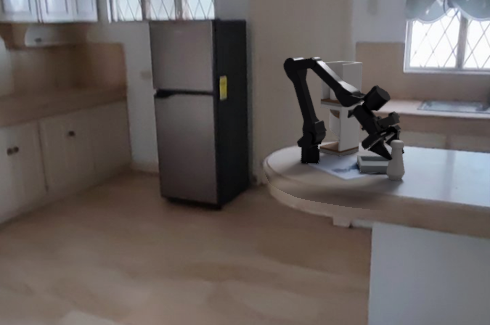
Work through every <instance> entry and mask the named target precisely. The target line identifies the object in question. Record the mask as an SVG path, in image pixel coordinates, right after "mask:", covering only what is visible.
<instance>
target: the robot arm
mask: <svg viewBox="0 0 490 325" xmlns="http://www.w3.org/2000/svg"><path fill="white" fill-rule="evenodd" d="M325 63H326V62H324V61H323V59H322V58H321V57H320V56H314V57H313V56H312V57H309V58H305V57H302V56H293V57H292V56H291V57H287V58H286V59H285V60H284V62H283V63H282V64H283V71H284V72H285V75H286V76H287V78H288V79H289V81H290V82H291V83H292V84H293V88H294V91H295V95H296V99H297V103H298V106H299V110H300V113H301V116H302V119H303V123H302V128H301V129H302V135H301V137H300V138H299V139H298V140H297V142H296V144H297V147H299V148H300V150H301V151H300V153H301V154H300V164H303V165H304V164H308V163H316V164H315V165H318V164H319V163H320V160H321V158H320V156H321V151H320V148H319V145H322V143H323V141H324V140H325V138H326V136H327V129H326V125H325V121H324V120H320V119H319V118H318V117H317V113H316V111H315V108H314V102H313V100H312V96H311V92H310V90H309V89H310V88H309V86H308V82H307V76H308V69H309V70H312V72H313V73H314V74H316V76H318V77H319V78H320V80H321V79H322V80H323V81H324V82H325V83H326V84H327V85H328V86H329V87H330V88H331V89H332V90H333V91H334V93H335V96H336V98H337V100H338V101H339V103H340V104H341V105H342V106H343V107H351V106H355V105H357V106H356V107H355V108H354V109H353V110H352V109H351V110H348V117H347V118H351V117H355V118H356V119H357V120H358V122H359V123H360V129H361V131H362V132H364V131H365V132H366V133H367V134H368V135H367V136H366V137H365V138H364V139H363V140H361V146H360V147H362V148H363V150H364V151H366V150H367V151H368V152H372V153H374V154H376V155H377V156H382V157H384V158H386V159H388V160H390V161H391V160H392V159H393V158H392V156H391V152H390V151H389V150H388V149H387V147H386V146H385V144H386V145H387V146H389V147H390V148H391V146H390V144H391V141H393V140H401V139H400V134H401V130H402V127H400V125H399V124H398V123H401V121H400V117H401V115H400V114H399V113H397V112H396V110H395V111H391V112H389V113H388V116H385V117H384V118H382V116H380V115H378V116H377V115H376V114H375V113H374V111H375V112H378V111H380V110H381V109H382V108H383V107H384V106H386V104H387V103H388V102H390V101H391V95H390V94H389V92H388V91H387V90H385V89H383V88H382V87H380V86H379V85H377V84H376V85H374V86H372V87H371V89H370V90H369V91H368V92H367V93H366V92H365V93H364V92H362V91H361V92H360V91H359V90H358V89H357V88H355V87H354V86H352V85H350V84H347V83H345V82H344V81H343V80H342V79H341V78H339V77H338V76H337V75H336V74H335V73H334V72H333V71H332V70H331V69H330V68H329V67H328V66H327V65H326V64H325ZM360 102H361V105H358V104H359V103H360ZM403 154H405V150H404V148H402V155H403ZM317 163H318V164H317Z"/></svg>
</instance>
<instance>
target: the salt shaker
mask: <svg viewBox="0 0 490 325" xmlns="http://www.w3.org/2000/svg"><path fill="white" fill-rule="evenodd" d="M390 146H391V147H390ZM390 146H389V147H390V148H391V152H390V155H391V156H392V158H393V159H392V160H391V161H390V160H389V163H388V167H387V173H386V174H387V178H388V179H389V180H391V181H402V178H403V177H404V175H405V174H406V170H405V164H404V157H403V154H402V148H403V149H404V148H405V142H404V141H403V140H401V139H400V140H393V141H391V144H390Z"/></svg>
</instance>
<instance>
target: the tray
mask: <svg viewBox="0 0 490 325" xmlns="http://www.w3.org/2000/svg"><path fill="white" fill-rule="evenodd" d="M356 162H357V166H358V165H359V166H358V168H360V169H359V170H360V171H361V172H360V171H359V172H360V173H367V172H380V174H383V173H384V174H387V167H388V163H389V160H388V159H386V158H384V157H382V156H380V155H356Z"/></svg>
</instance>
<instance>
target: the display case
mask: <svg viewBox="0 0 490 325" xmlns="http://www.w3.org/2000/svg"><path fill="white" fill-rule="evenodd" d="M324 63H325V64H326V65H327V66H328V67H329V68H330V69H331V70H332V71H333V72H334V73H335V74H336V75H337V76H338V77H339V78H341V79H342V80H343V81H344V82H345V83H347V84H350V85H352V86H354V87H355V88H357V89H358V90H359V91H360V92H361V93H362V84H363V67H364V65H363V63H364V62H361V61H348V60H347V61H346V60H339V61H337V60H336V61H328V62H324ZM361 104H362V102H360V103H359V104H358V105H361ZM356 106H357V105H355V106H351V107H343V106H342V105H341V104H340V103H339V101H338V100H337V98H336V96H335V93H334V91H333V90H332V89H331V88H330V87H329V86H328V85H327V84H326V83H325V82H324V81H323V80H322V79H321V78H320V108H322V109H328V110H329V119H328V121H329V122H328V128H329V130H330V132H331V133H332V134H334V135H335V136H337V137H338V141H336V142H335V141H334V142H330V143H327V144H323V145H322V144H321V145H320V146H319V149H320V153H326V154H330V155H332V156H333V155H334V156H337V157H342V156H346V155H349V154H350V155H351V154H353V153H357V152H359V151H360V150H359V148H360V131H361V130H360V129H361V124H360V123H359V122H358V120H357V119H356V118H355V117H351V118H347V117H348V110H351V109H352V110H353V109H354V108H355V107H356Z"/></svg>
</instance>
